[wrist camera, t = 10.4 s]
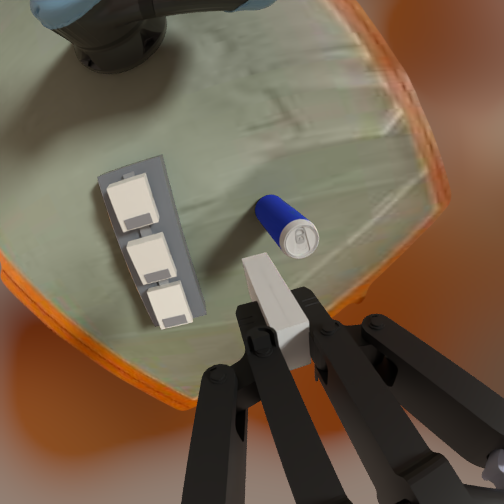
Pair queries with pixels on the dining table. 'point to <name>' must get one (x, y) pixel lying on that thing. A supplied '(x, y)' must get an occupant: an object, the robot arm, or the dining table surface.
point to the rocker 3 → (170, 304)
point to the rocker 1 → (133, 202)
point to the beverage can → (287, 227)
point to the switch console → (166, 224)
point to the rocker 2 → (152, 258)
